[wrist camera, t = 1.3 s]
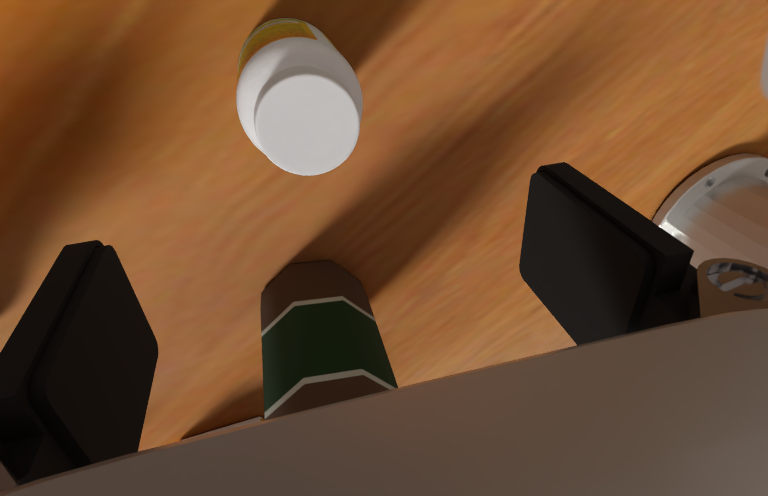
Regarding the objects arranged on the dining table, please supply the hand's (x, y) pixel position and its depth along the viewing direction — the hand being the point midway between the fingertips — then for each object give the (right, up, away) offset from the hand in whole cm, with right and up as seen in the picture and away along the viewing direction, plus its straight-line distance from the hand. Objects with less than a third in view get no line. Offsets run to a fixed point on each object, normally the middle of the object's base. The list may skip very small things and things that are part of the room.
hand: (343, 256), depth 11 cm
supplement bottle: (-4, +10, +15) cm, 19 cm away
